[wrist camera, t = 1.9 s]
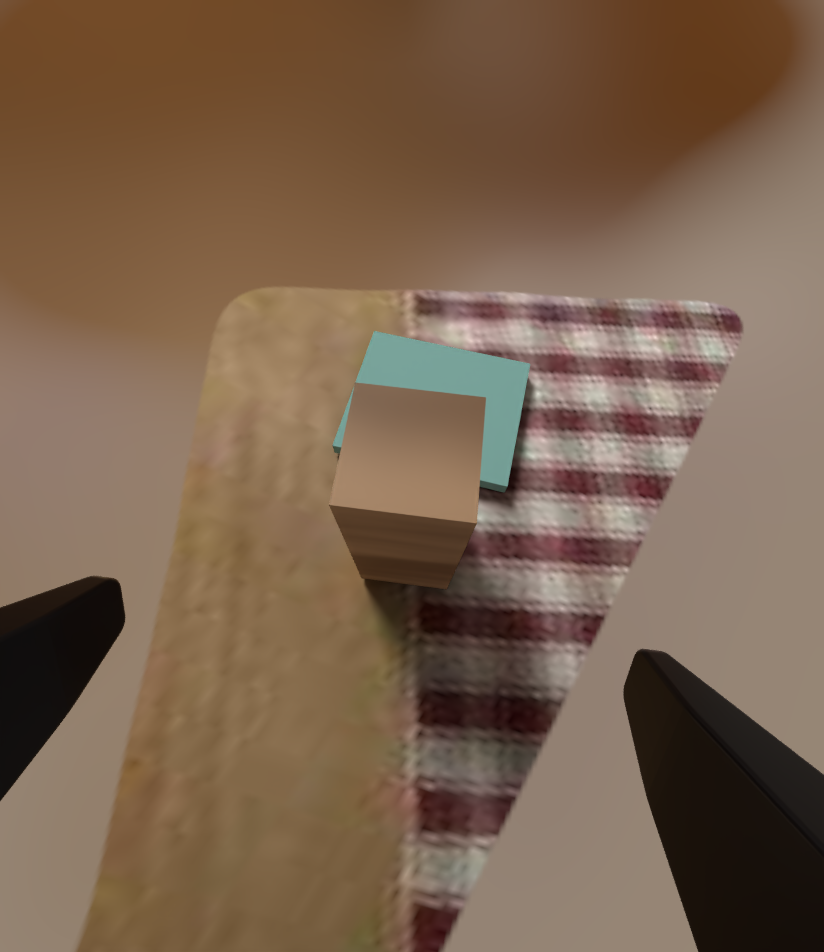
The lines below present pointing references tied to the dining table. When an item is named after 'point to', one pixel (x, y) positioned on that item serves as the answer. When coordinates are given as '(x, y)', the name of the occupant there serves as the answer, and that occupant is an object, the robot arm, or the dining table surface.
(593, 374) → the dining table surface
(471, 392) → the mat
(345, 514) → the walnut block
